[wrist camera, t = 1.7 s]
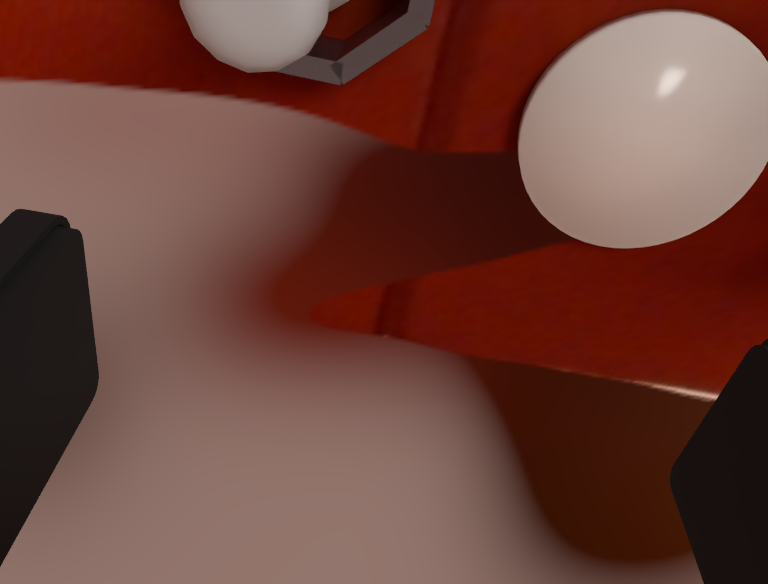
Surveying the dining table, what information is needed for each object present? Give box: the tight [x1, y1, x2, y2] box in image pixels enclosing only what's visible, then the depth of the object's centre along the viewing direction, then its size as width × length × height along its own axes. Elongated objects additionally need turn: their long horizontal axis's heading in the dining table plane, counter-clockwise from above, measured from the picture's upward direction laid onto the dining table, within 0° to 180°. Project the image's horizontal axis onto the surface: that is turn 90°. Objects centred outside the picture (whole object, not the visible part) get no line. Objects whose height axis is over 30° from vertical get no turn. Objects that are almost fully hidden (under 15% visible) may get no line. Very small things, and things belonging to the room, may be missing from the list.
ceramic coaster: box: [517, 9, 768, 248], centre depth 33 cm, size 12×12×1 cm
